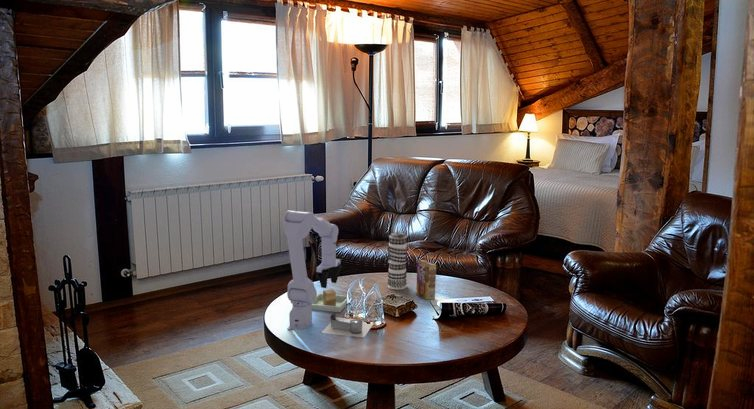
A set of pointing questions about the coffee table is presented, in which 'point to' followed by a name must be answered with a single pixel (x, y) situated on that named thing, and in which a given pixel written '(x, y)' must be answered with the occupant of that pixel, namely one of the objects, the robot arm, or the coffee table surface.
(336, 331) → the board
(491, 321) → the coffee table surface
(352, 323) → the crank
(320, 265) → the robot arm
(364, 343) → the coffee table surface
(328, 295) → the block
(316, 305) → the tray
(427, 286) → the candy box
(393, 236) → the patterned cylinder
